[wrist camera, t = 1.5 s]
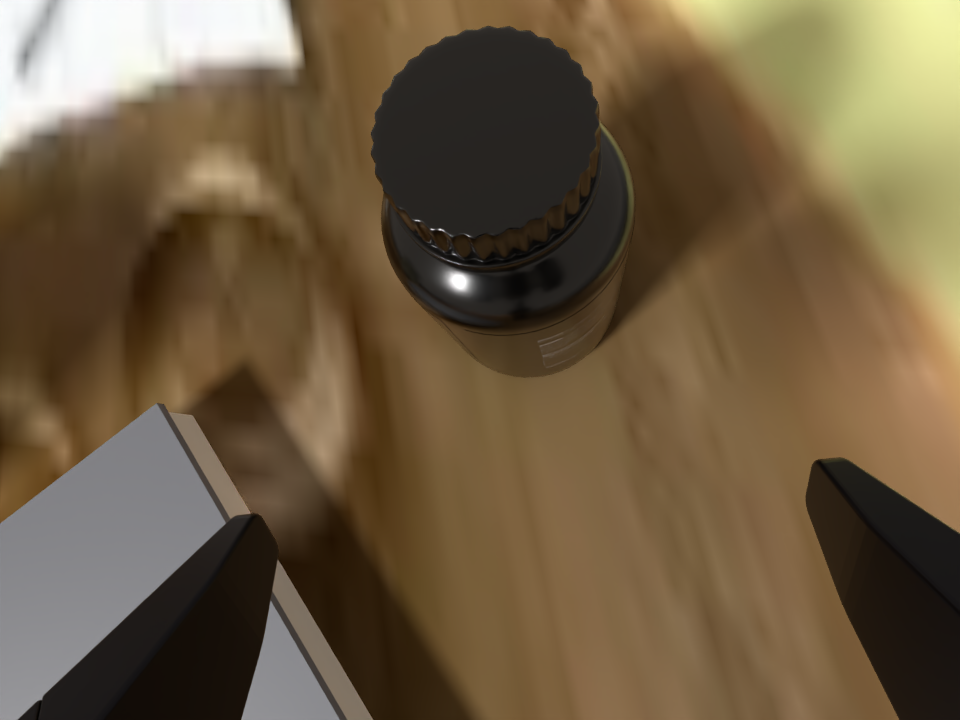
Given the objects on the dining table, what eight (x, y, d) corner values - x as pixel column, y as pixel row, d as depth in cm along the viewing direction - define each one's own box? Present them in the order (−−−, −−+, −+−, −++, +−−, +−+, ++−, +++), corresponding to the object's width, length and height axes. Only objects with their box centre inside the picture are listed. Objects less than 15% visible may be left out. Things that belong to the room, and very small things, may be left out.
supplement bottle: (603, 204, 23) (637, -51, 12) (626, 369, 22) (689, 266, 11) (438, 229, 24) (318, 14, 13) (451, 389, 23) (330, 313, 11)
